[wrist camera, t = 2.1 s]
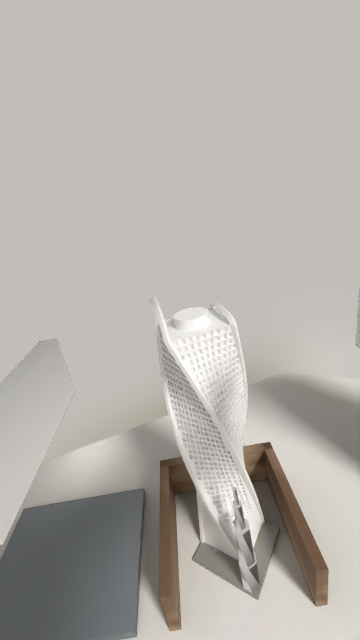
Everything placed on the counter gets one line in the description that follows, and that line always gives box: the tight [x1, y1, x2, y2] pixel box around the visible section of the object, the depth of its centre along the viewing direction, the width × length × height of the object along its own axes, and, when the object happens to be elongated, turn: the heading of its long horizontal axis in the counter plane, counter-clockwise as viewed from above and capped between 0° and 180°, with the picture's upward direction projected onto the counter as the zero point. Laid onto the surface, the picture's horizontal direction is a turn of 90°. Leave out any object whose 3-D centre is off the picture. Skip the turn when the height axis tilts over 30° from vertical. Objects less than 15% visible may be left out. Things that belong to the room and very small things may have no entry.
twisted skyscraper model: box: [150, 296, 279, 600], centre depth 28 cm, size 8×8×28 cm
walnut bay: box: [159, 442, 328, 631], centre depth 32 cm, size 14×14×5 cm
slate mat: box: [0, 489, 145, 640], centre depth 32 cm, size 16×14×1 cm
